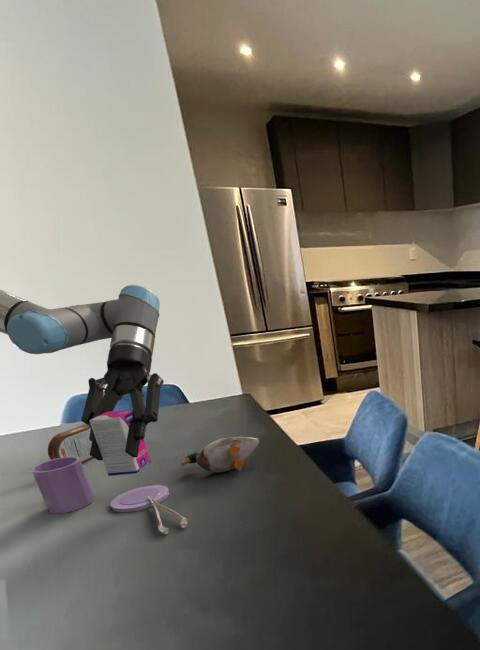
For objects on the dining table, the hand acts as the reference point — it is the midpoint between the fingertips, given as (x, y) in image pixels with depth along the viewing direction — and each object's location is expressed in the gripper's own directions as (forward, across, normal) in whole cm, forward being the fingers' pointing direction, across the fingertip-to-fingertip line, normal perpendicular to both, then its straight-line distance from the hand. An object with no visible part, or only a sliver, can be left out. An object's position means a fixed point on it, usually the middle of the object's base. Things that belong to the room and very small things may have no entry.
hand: (113, 455), depth 93 cm
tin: (-14, +27, -30) cm, 42 cm away
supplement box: (+1, 0, -6) cm, 6 cm away
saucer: (+5, 0, -10) cm, 12 cm away
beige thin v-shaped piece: (+11, -8, -5) cm, 14 cm away
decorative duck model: (-5, -13, -21) cm, 25 cm away
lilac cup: (+5, +14, -11) cm, 19 cm away
